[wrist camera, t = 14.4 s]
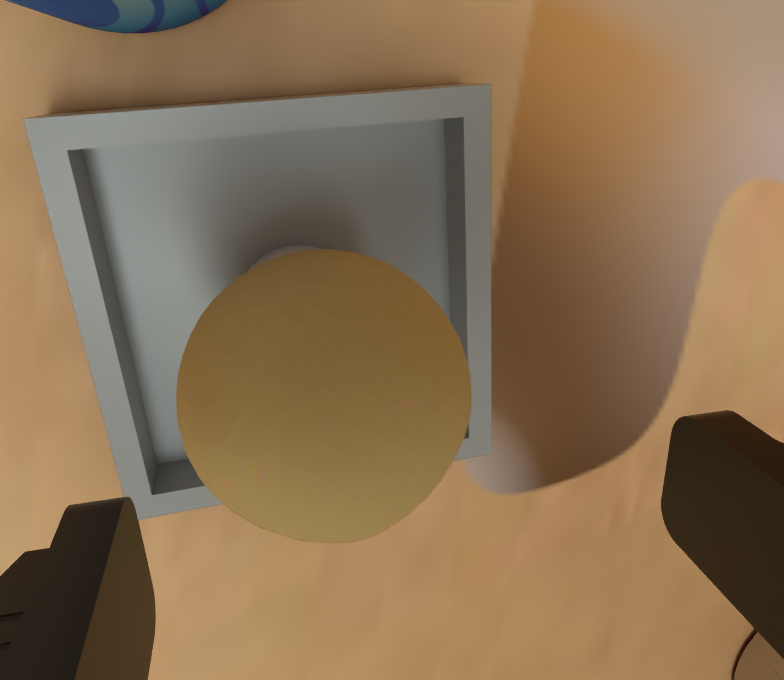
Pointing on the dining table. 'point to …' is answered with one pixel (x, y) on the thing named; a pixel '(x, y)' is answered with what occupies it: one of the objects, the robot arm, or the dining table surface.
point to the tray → (255, 234)
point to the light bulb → (323, 395)
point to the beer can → (125, 13)
